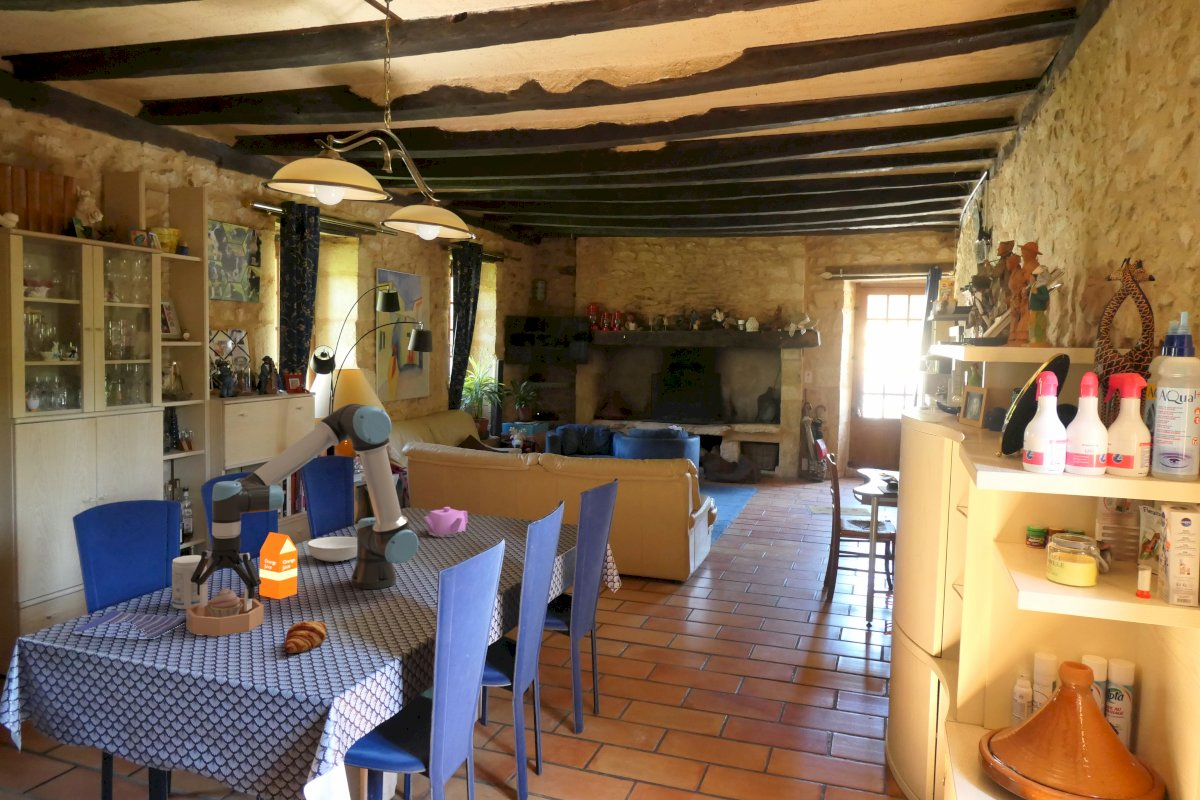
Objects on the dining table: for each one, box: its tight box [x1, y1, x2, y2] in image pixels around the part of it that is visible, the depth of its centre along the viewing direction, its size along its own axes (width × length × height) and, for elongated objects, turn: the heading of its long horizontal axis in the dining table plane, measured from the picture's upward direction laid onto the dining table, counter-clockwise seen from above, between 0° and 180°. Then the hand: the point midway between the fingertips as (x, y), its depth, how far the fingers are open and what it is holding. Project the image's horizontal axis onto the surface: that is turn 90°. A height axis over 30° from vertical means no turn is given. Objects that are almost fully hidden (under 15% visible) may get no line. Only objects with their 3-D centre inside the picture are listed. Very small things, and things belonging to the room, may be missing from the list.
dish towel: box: [74, 609, 186, 638], centre depth 230 cm, size 17×24×3 cm
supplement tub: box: [171, 554, 208, 610], centre depth 251 cm, size 10×10×15 cm
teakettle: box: [423, 506, 469, 535], centre depth 362 cm, size 17×17×12 cm
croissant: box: [283, 620, 328, 654], centre depth 223 cm, size 21×10×8 cm, turn 174°
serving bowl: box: [307, 536, 357, 563], centre depth 313 cm, size 21×21×7 cm
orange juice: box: [259, 531, 299, 600], centre depth 266 cm, size 8×9×20 cm
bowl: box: [185, 597, 265, 637], centre depth 235 cm, size 19×19×5 cm
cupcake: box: [207, 587, 243, 618], centre depth 235 cm, size 9×9×10 cm
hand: (225, 608), depth 235 cm, fingers open, 13 cm apart
